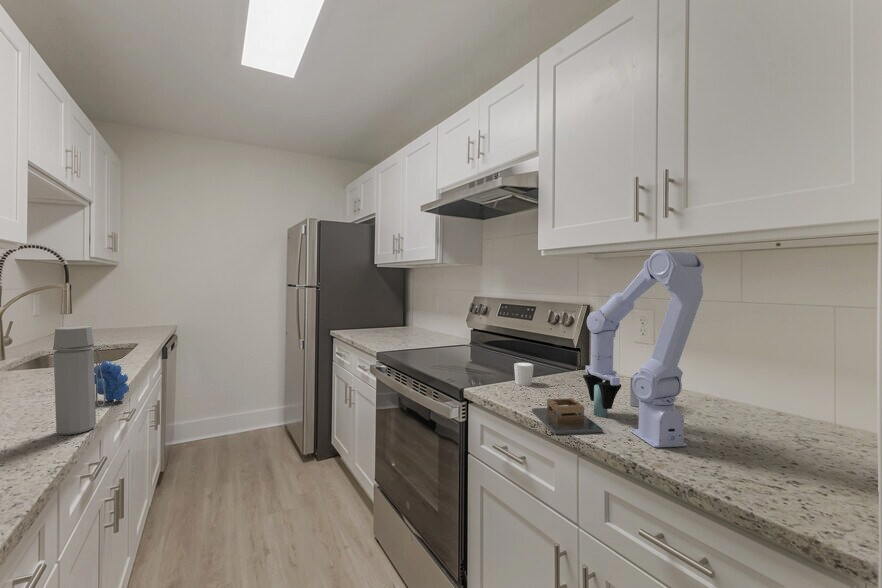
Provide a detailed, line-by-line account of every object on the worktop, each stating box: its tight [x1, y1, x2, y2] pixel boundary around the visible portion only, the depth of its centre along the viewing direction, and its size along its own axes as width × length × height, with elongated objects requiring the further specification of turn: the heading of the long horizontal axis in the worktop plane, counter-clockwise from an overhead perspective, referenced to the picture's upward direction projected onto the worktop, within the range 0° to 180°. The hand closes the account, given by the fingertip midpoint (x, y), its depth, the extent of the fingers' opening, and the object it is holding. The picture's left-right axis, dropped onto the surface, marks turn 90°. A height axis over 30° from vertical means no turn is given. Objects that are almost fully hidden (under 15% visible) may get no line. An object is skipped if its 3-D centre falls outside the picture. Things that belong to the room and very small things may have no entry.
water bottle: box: [52, 325, 106, 436], centre depth 95 cm, size 9×8×25 cm
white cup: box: [513, 361, 534, 387], centre depth 140 cm, size 7×7×7 cm
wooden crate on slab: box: [531, 397, 603, 435], centre depth 103 cm, size 16×12×5 cm
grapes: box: [94, 360, 130, 402], centre depth 116 cm, size 12×7×12 cm, turn 82°
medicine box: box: [629, 372, 639, 408], centre depth 118 cm, size 8×4×9 cm, turn 143°
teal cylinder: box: [593, 385, 608, 418], centre depth 108 cm, size 4×4×8 cm
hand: (600, 404), depth 108 cm, fingers open, 6 cm apart
